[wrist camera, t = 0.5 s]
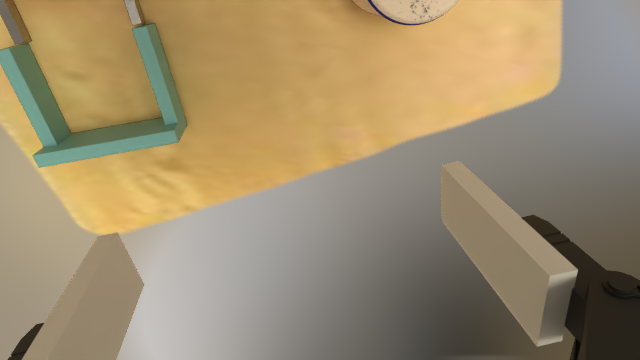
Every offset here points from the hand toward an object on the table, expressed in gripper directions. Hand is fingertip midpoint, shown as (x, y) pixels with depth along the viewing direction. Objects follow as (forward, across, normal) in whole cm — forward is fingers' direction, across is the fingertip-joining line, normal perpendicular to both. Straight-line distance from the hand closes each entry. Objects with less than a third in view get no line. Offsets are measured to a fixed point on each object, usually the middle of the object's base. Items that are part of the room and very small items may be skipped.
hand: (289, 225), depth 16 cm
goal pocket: (+26, -16, +3) cm, 30 cm away
